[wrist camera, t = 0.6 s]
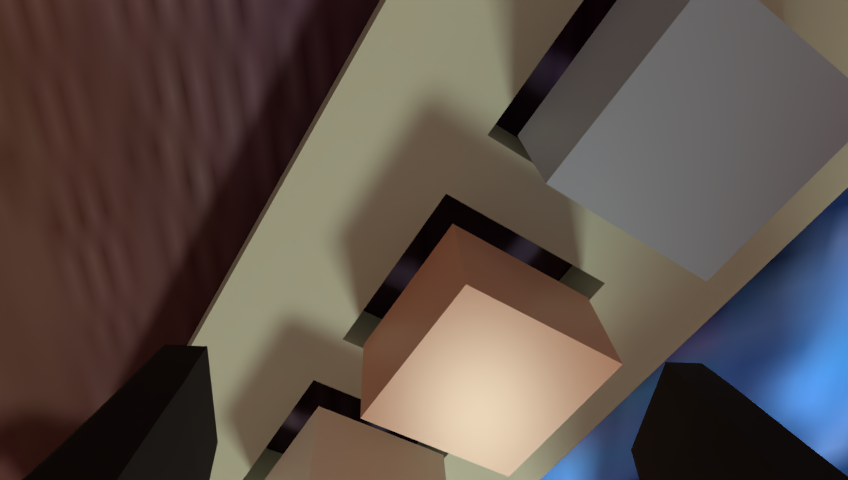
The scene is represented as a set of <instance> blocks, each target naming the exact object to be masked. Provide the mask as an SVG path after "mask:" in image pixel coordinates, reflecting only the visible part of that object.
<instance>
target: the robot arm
mask: <svg viewBox="0 0 848 480" xmlns="http://www.w3.org/2000/svg"><path fill="white" fill-rule="evenodd" d="M217 444H218V439H217V430H216V421H215V412H214V403H213V394H212V385H211V376H210V366H209V357H208V348H207V346H184V345H164V346H163V347H162V348H161V349H160V350H158V351H157V352H156V353H155V354H154V355H153V356H152V357H151V358H150V359H149V360H148V361H147V362H146V363H145V364H144V365H143V366H142V367H141V368H140V369H139V370H138V371H137V372H136V373H135V374H134V375H133V376H132V377H131V378H130V379H129V380H128V381H127V382H126V383H125V384H124V385H123V386H122V387H121V388H120V389H119V390H118V391H117V392H116V393H115V394H114V395H113V396H112V397H111V398H110V399H109V400H108V401H107V402H105V403H104V404H103V405H102V406H101V407H100V408H99V409H98V410H97V411H96V412H95V413H94V414H93V415H92V416H91V417H90V418H89V419H88V420H87V421H86V422H85V423H84V424H83V425H81V426H80V427H79V428H78V429H77V430H76V431H75V432H74V433H73V434H72V435H71V436H70V437H69V438H68V439H66V440H65V441H64V442H63V443H62V444H61V445H60V446H59V447H58V448H57V449H56V450H55V451H54V452H53V453H51V454H50V455H49V456H48V457H47V458H46V459H45V460H44V461H43V462H42V463H41V464H39V465H38V466H37V467H36V468H35V469H34V470H33V471H32V472H30V473H29V474H28V475H27V476H26V477H25V478H23V479H22V480H210V475H211V471H212V466H213V462H214V457H215V453H216V448H217ZM631 451H632V454H633V458H634V461H635V465H636V469H637V472H638V476H639V479H640V480H848V477H847V476H846V475H845V474H844V473H842V472H841V471H840V470H838V469H837V468H836V467H834V466H833V465H832V464H831V463H829V462H828V461H827V460H825V459H824V458H823V457H822V456H820V455H819V454H818V453H816V452H815V451H814V450H813V449H811V448H810V447H809V446H807V445H806V444H805V443H804V442H802V441H801V440H800V439H799V438H797V437H796V436H795V435H794V434H792V433H791V432H790V431H788V430H787V429H786V428H785V427H783V426H782V425H781V424H780V423H778V422H777V421H776V420H775V419H773V418H772V417H771V416H770V415H768V414H767V413H766V412H765V411H763V410H762V409H761V408H760V407H758V406H757V405H756V404H755V403H753V402H752V401H751V400H749V399H748V398H747V397H746V396H744V395H743V394H742V393H741V392H739V391H738V390H737V389H735V388H734V387H733V386H732V385H730V384H729V383H728V382H726V381H725V380H724V379H722V378H721V377H720V376H718V375H717V374H716V373H714V372H713V371H711V370H710V369H709V368H707V367H706V366H704V365H703V364H701V363H672V362H666V363H665V366H664V368H663V371H662V373H661V376H660V378H659V381H658V383H657V386H656V388H655V391H654V393H653V396H652V399H651V401H650V404H649V406H648V409H647V411H646V414H645V416H644V419H643V421H642V424H641V426H640V429H639V432H638V434H637V437H636V439H635V442H634V444H633V447H632V449H631Z"/></svg>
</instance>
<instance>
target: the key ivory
mask: <svg viewBox="0 0 848 480" xmlns="http://www.w3.org/2000/svg"><path fill="white" fill-rule="evenodd" d="M265 480H446V474H445V465H444V456H443V455H442V454H440V453H437V452H435V451H432V450H430V449H427V448H424V447H422V446H419V445H417V444H414V443H412V442H409V441H407V440H404V439H401V438H399V437H396V436H394V435H391V434H389V433H386V432H384V431H381V430H378V429H376V428H373V427H371V426H368V425H366V424H363V423H361V422H358V421H355V420H353V419H350V418H348V417H345V416H343V415H340V414H338V413H335V412H332V411H330V410H327V409H325V408H322V407H320V406H318V408H317V409H316V410H315V412H314V413H313V414H312V416H311V417H310V418H309V420H308V421H307V423H306V424H305V425H304V427H303V428H302V429H301V431H300V432H299V433H298V435H297V436H296V437H295V439H294V440H293V442H292V443H291V444H290V446H289V447H288V448H287V450H286V451H285V452H284V454H283V455H282V457H281V458H280V459H279V461H278V462H277V463H276V465H275V466H274V467H273V469H272V470H271V471H270V473H269V474H268V476H267V477H266V478H265Z"/></svg>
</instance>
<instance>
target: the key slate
mask: <svg viewBox="0 0 848 480" xmlns="http://www.w3.org/2000/svg"><path fill="white" fill-rule="evenodd" d="M518 138H519V139H520V141H521V143H522V144H523V146H524V148H525V149H526V151H527V153H528V154H529V156H530V158H531V160H532V161H533V163H534V165H535V166H536V168H537V170H538V171H539V173H540V175H541V176H542V178H543V180H544V182H545V183H546V184H547V185H549V186H551V187H552V188H554V189H555V190H557V191H559V192H560V193H562V194H564V195H565V196H567V197H569V198H570V199H572V200H573V201H575V202H577V203H578V204H580V205H582V206H583V207H585V208H587V209H588V210H590V211H592V212H593V213H595V214H596V215H598V216H600V217H601V218H603V219H605V220H606V221H608V222H610V223H611V224H613V225H615V226H616V227H618V228H619V229H621V230H623V231H624V232H626V233H628V234H629V235H631V236H633V237H634V238H636V239H638V240H639V241H641V242H642V243H644V244H646V245H647V246H649V247H651V248H652V249H654V250H656V251H657V252H659V253H660V254H662V255H664V256H665V257H667V258H669V259H670V260H672V261H674V262H675V263H677V264H679V265H680V266H682V267H683V268H685V269H687V270H688V271H690V272H692V273H693V274H695V275H697V276H698V277H700V278H702V279H703V280H705V281H706V282H707V281H708V280H709V279H710V278H711V277H712V276H713V275H714V274H715V273H716V272H717V271H718V270H719V269H720V268H721V267H722V266H723V265H724V264H725V263H726V262H727V261H728V260H729V259H730V258H731V257H732V256H733V255H734V254H735V253H736V252H737V251H738V250H739V249H740V248H741V247H742V246H743V245H744V244H745V243H746V242H747V241H748V240H749V239H750V238H751V237H752V236H753V235H754V234H755V233H756V232H757V231H758V230H759V229H760V228H761V227H762V226H763V225H765V224H766V223H767V222H768V221H769V220H770V219H771V218H772V217H773V216H774V215H775V214H776V213H777V212H778V211H779V210H780V209H781V208H782V207H783V206H784V205H785V204H786V203H787V202H788V201H789V200H790V199H791V198H792V197H793V196H794V195H795V194H796V193H797V192H798V191H799V190H800V189H801V188H802V187H803V186H804V185H805V184H806V183H807V182H808V181H809V180H810V179H811V178H812V177H813V176H814V175H815V174H816V173H817V172H818V171H819V170H820V169H821V168H822V167H823V166H824V165H825V164H826V163H827V162H828V161H829V160H830V159H831V158H832V157H833V156H834V155H835V154H836V153H837V152H838V151H839V150H840V149H841V148H843V147H844V146H845V145H846V144H847V143H848V78H847V77H846V76H845V75H844V74H843V73H842V72H840V71H839V70H838V69H837V68H836V67H835V66H834V65H832V64H831V63H830V62H829V61H828V60H827V59H825V58H824V57H823V56H822V55H821V54H820V53H819V52H817V51H816V50H815V49H814V48H813V47H812V46H810V45H809V44H808V43H807V42H806V41H805V40H804V39H802V38H801V37H800V36H799V35H798V34H797V33H795V32H794V31H793V30H792V29H791V28H790V27H789V26H787V25H786V24H785V23H784V22H783V21H782V20H780V19H779V18H778V17H777V16H776V15H775V14H773V13H772V12H771V11H770V10H769V9H768V8H767V7H765V6H764V5H763V4H762V3H761V2H760V1H758V0H617V1H616V2H615V4H614V5H613V6H612V8H611V9H610V10H609V12H608V13H607V14H606V16H605V17H604V19H603V20H602V21H601V23H600V24H599V25H598V27H597V28H596V29H595V31H594V32H593V34H592V35H591V36H590V38H589V39H588V40H587V42H586V43H585V44H584V46H583V47H582V48H581V50H580V51H579V53H578V54H577V55H576V57H575V58H574V59H573V61H572V62H571V63H570V65H569V66H568V68H567V69H566V70H565V72H564V73H563V74H562V76H561V77H560V78H559V80H558V81H557V82H556V84H555V85H554V87H553V88H552V89H551V91H550V92H549V93H548V95H547V96H546V97H545V99H544V100H543V102H542V103H541V104H540V106H539V107H538V108H537V110H536V111H535V112H534V114H533V115H532V116H531V118H530V119H529V121H528V122H527V123H526V125H525V126H524V127H523V129H522V130H521V131H520V133H519V134H518Z"/></svg>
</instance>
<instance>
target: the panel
mask: <svg viewBox="0 0 848 480" xmlns="http://www.w3.org/2000/svg"><path fill="white" fill-rule="evenodd" d="M758 1H760V2H761V3H762V4H763V5H764V6H765V7H767V8H768V9H769V10H770V11H771V12H772V13H773V14H775V15H776V16H777V17H778V18H779V19H780V20H782V21H783V22H784V23H785V24H786V25H787V26H789V27H790V28H791V29H792V30H793V31H794V32H795V33H797V34H798V35H799V36H800V37H801V38H802V39H804V40H805V41H806V42H807V43H808V44H809V45H810V46H812V47H813V48H814V49H815V50H816V51H817V52H819V53H820V54H821V55H822V56H823V57H824V58H825V59H827V60H828V61H829V62H830V63H831V64H832V65H834V66H835V67H836V68H837V69H838V70H839V71H840V72H842V73H843V74H844V75H845V76H846V77H847V78H848V0H758ZM582 2H583V0H380V1H379V3H378V4H377V6H376V8H375V10H374V12H373V13H372V15H371V17H370V19H369V21H368V22H367V24H366V26H365V28H364V29H363V31H362V33H361V35H360V37H359V38H358V40H357V42H356V44H355V46H354V47H353V49H352V51H351V53H350V54H349V56H348V58H347V60H346V62H345V63H344V65H343V67H342V69H341V71H340V72H339V74H338V76H337V78H336V79H335V81H334V83H333V85H332V87H331V88H330V90H329V92H328V94H327V96H326V97H325V99H324V101H323V103H322V105H321V106H320V108H319V110H318V112H317V113H316V115H315V117H314V119H313V121H312V122H311V124H310V126H309V128H308V130H307V131H306V133H305V135H304V137H303V138H302V140H301V142H300V144H299V146H298V147H297V149H296V151H295V153H294V155H293V156H292V158H291V160H290V162H289V164H288V165H287V167H286V169H285V171H284V172H283V174H282V176H281V178H280V180H279V181H278V183H277V185H276V187H275V189H274V190H273V192H272V194H271V196H270V197H269V199H268V201H267V203H266V205H265V206H264V208H263V210H262V212H261V214H260V215H259V217H258V219H257V221H256V223H255V224H254V226H253V228H252V230H251V231H250V233H249V235H248V237H247V239H246V240H245V242H244V244H243V246H242V248H241V249H240V251H239V253H238V255H237V256H236V258H235V260H234V262H233V264H232V265H231V267H230V269H229V271H228V273H227V274H226V276H225V278H224V280H223V281H222V283H221V285H220V287H219V289H218V290H217V292H216V294H215V296H214V298H213V299H212V301H211V303H210V305H209V307H208V308H207V310H206V312H205V314H204V315H203V317H202V319H201V321H200V323H199V324H198V326H197V328H196V330H195V332H194V333H193V335H192V337H191V339H190V340H189V342H188V344H187V346H207V348H208V357H209V366H210V376H211V385H212V394H213V403H214V412H215V421H216V430H217V439H218V444H217V448H216V453H215V457H214V462H213V466H212V471H211V475H210V480H265V478H266V477H267V476H268V474H269V473H270V471H271V470H272V469H273V467H274V466H275V465H276V463H277V462H278V461H279V459H280V458H281V457H282V455H283V454H282V453H279V452H276V451H274V450H271V449H268V448H266V446H267V445H268V444H269V442H270V441H271V439H272V438H273V437H274V435H275V434H276V432H277V431H278V430H279V428H280V427H281V425H282V424H283V422H284V421H285V420H286V418H287V417H288V415H289V414H290V413H291V411H292V410H293V408H294V407H295V406H296V404H297V403H298V401H299V400H300V399H301V397H302V396H303V394H304V393H305V392H306V390H307V389H308V387H309V386H310V384H311V383H312V382H313V380H315V381H317V382H319V383H322V384H324V385H327V386H329V387H332V388H334V389H337V390H339V391H342V392H344V393H347V394H349V395H351V396H354V397H356V398H359V399H361V390H362V367H363V345H364V344H365V342H366V341H367V340H368V338H369V337H370V335H371V334H372V333H373V331H374V330H375V329H376V327H377V326H378V325H379V323H380V322H381V321H382V319H380V318H378V317H376V316H374V315H372V314H370V313H367V312H365V311H363V310H364V308H365V307H366V306H367V304H368V303H369V301H370V300H371V299H372V297H373V296H374V294H375V293H376V292H377V290H378V289H379V287H380V286H381V285H382V283H383V282H384V280H385V279H386V277H387V276H388V275H389V273H390V272H391V270H392V269H393V268H394V266H395V265H396V263H397V262H398V261H399V259H400V258H401V256H402V255H403V254H404V252H405V251H406V249H407V248H408V247H409V245H410V244H411V242H412V241H413V239H414V238H415V237H416V235H417V234H418V232H419V231H420V230H421V228H422V227H423V225H424V224H425V223H426V221H427V220H428V218H429V217H430V216H431V214H432V213H433V211H434V210H435V208H436V207H437V206H438V204H439V203H440V201H441V200H442V199H443V197H444V196H445V194H448V195H449V196H451V197H453V198H455V199H456V200H458V201H460V202H462V203H464V204H465V205H467V206H469V207H471V208H472V209H474V210H476V211H478V212H480V213H481V214H483V215H485V216H487V217H488V218H490V219H492V220H494V221H495V222H497V223H499V224H501V225H503V226H504V227H506V228H508V229H510V230H511V231H513V232H515V233H517V234H519V235H520V236H522V237H524V238H526V239H527V240H529V241H531V242H533V243H535V244H536V245H538V246H540V247H542V248H543V249H545V250H547V251H549V252H551V253H552V254H554V255H556V256H558V257H559V258H561V259H563V260H565V261H567V262H568V263H570V264H572V265H573V266H572V267H571V268H570V269H569V270H568V271H567V272H566V274H565V275H564V276H563V277H562V278H561V279H560V280H559V282H560V283H562V284H564V285H566V286H568V287H570V288H571V289H573V290H575V291H577V292H579V293H581V294H582V295H584V296H586V297H588V299H589V301H590V303H591V305H592V307H593V308H594V310H595V312H596V314H597V316H598V318H599V320H600V322H601V324H602V326H603V327H604V329H605V331H606V333H607V335H608V337H609V339H610V341H611V343H612V345H613V346H614V348H615V350H616V352H617V354H618V356H619V358H620V360H621V362H622V364H623V365H622V366H621V367H620V368H619V369H618V370H617V371H616V372H615V373H614V374H613V375H612V376H611V377H610V378H609V379H607V380H606V381H605V382H604V383H603V384H602V385H601V386H600V387H599V388H598V389H597V390H596V391H595V392H594V393H593V394H592V395H591V396H590V397H589V398H588V399H587V400H586V401H585V402H584V403H583V404H582V405H581V406H580V407H579V408H578V409H577V410H576V411H575V412H574V413H573V414H572V415H571V416H570V417H569V418H568V419H567V420H566V421H565V422H564V423H563V424H562V425H561V426H560V427H559V428H558V429H557V430H556V431H555V432H554V433H553V434H552V435H551V436H550V437H549V438H548V439H547V440H546V441H545V442H544V443H543V444H542V445H541V446H540V447H539V448H538V449H537V450H536V451H535V452H534V453H533V454H532V455H531V456H529V457H528V458H527V459H526V460H525V461H524V462H523V463H522V464H521V465H520V466H519V467H518V468H517V469H516V470H515V471H514V472H513V473H512V474H511V475H510V476H509V477H508V476H505V475H503V474H500V473H498V472H495V471H493V470H490V469H487V468H485V467H482V466H480V465H477V464H475V463H472V462H470V461H467V460H465V459H462V458H460V457H457V456H455V455H452V454H449V453H447V452H444V451H442V450H439V449H437V448H434V447H432V446H429V445H427V444H424V443H422V442H418V443H417V445H419V446H422V447H424V448H427V449H430V450H432V451H435V452H437V453H440V454H442V455H443V456H444V465H445V474H446V480H540V479H541V478H542V477H543V476H544V475H545V474H547V473H548V472H549V471H550V470H551V469H552V468H553V467H554V466H555V465H556V464H557V463H558V462H559V461H560V460H561V459H562V458H563V457H564V456H565V455H567V454H568V453H569V452H570V451H571V450H572V449H573V448H574V447H575V446H576V445H577V444H578V443H579V442H580V441H581V440H582V439H583V438H584V437H585V436H587V435H588V434H589V433H590V432H591V431H592V430H593V429H594V428H595V427H596V426H597V425H598V424H599V423H600V422H601V421H602V420H603V419H604V418H605V417H607V416H608V415H609V414H610V413H611V412H612V411H613V410H614V409H615V408H616V407H617V406H618V405H619V404H620V403H621V402H622V401H623V400H624V399H625V398H626V397H628V396H629V395H630V394H631V393H632V392H633V391H634V390H635V389H636V388H637V387H638V386H639V385H640V384H641V383H642V382H643V381H644V380H645V379H646V378H648V377H649V376H650V375H651V374H652V373H653V372H654V371H655V370H656V369H657V368H658V367H659V366H660V365H661V364H662V363H663V362H664V361H665V360H666V359H668V358H669V357H670V356H671V355H672V354H673V353H674V352H675V351H676V350H677V349H678V348H679V347H680V346H681V345H682V344H683V343H684V342H685V341H686V340H688V339H689V338H690V337H691V336H692V335H693V334H694V333H695V332H696V331H697V330H698V329H699V328H700V327H701V326H702V325H703V324H704V323H705V322H706V321H708V320H709V319H710V318H711V317H712V316H713V315H714V314H715V313H716V312H717V311H718V310H719V309H720V308H721V307H722V306H723V305H724V304H725V303H726V302H727V301H729V300H730V299H731V298H732V297H733V296H734V295H735V294H736V293H737V292H738V291H739V290H740V289H741V288H742V287H743V286H744V285H745V284H746V283H747V282H749V281H750V280H751V279H752V278H753V277H754V276H755V275H756V274H757V273H758V272H759V271H760V270H761V269H762V268H763V267H764V266H765V265H766V264H767V263H769V262H770V261H771V260H772V259H773V258H774V257H775V256H776V255H777V254H778V253H779V252H780V251H781V250H782V249H783V248H784V247H785V246H786V245H787V244H789V243H790V242H791V241H792V240H793V239H794V238H795V237H796V236H797V235H798V234H799V233H800V232H801V231H802V230H803V229H804V228H805V227H806V226H807V225H808V224H810V223H811V222H812V221H813V220H814V219H815V218H816V217H817V216H818V215H819V214H820V213H821V212H822V211H823V210H824V209H825V208H826V207H827V206H828V205H830V204H831V203H832V202H833V201H834V200H835V199H836V198H837V197H838V196H839V195H840V194H841V193H842V192H843V191H844V190H845V189H846V188H847V187H848V143H847V144H846V145H845V146H844V147H843V148H841V149H840V150H839V151H838V152H837V153H836V154H835V155H834V156H833V157H832V158H831V159H830V160H829V161H828V162H827V163H826V164H825V165H824V166H823V167H822V168H821V169H820V170H819V171H818V172H817V173H816V174H815V175H814V176H813V177H812V178H811V179H810V180H809V181H808V182H807V183H806V184H805V185H804V186H803V187H802V188H801V189H800V190H799V191H798V192H797V193H796V194H795V195H794V196H793V197H792V198H791V199H790V200H789V201H788V202H787V203H786V204H785V205H784V206H783V207H782V208H781V209H780V210H779V211H778V212H777V213H776V214H775V215H774V216H773V217H772V218H771V219H770V220H769V221H768V222H767V223H766V224H765V225H763V226H762V227H761V228H760V229H759V230H758V231H757V232H756V233H755V234H754V235H753V236H752V237H751V238H750V239H749V240H748V241H747V242H746V243H745V244H744V245H743V246H742V247H741V248H740V249H739V250H738V251H737V252H736V253H735V254H734V255H733V256H732V257H731V258H730V259H729V260H728V261H727V262H726V263H725V264H724V265H723V266H722V267H721V268H720V269H719V270H718V271H717V272H716V273H715V274H714V275H713V276H712V277H711V278H710V279H709V280H708V281H707V282H706V281H705V280H703V279H702V278H700V277H698V276H697V275H695V274H693V273H692V272H690V271H688V270H687V269H685V268H683V267H682V266H680V265H679V264H677V263H675V262H674V261H672V260H670V259H669V258H667V257H665V256H664V255H662V254H660V253H659V252H657V251H656V250H654V249H652V248H651V247H649V246H647V245H646V244H644V243H642V242H641V241H639V240H638V239H636V238H634V237H633V236H631V235H629V234H628V233H626V232H624V231H623V230H621V229H619V228H618V227H616V226H615V225H613V224H611V223H610V222H608V221H606V220H605V219H603V218H601V217H600V216H598V215H596V214H595V213H593V212H592V211H590V210H588V209H587V208H585V207H583V206H582V205H580V204H578V203H577V202H575V201H573V200H572V199H570V198H569V197H567V196H565V195H564V194H562V193H560V192H559V191H557V190H555V189H554V188H552V187H551V186H549V185H547V184H546V183H545V182H544V180H543V178H542V176H541V175H540V173H539V171H538V170H537V168H536V166H535V165H534V163H533V161H532V160H531V158H530V156H529V154H528V153H527V151H526V149H525V148H524V146H523V144H522V143H521V141H520V139H519V138H517V137H515V136H514V135H512V134H511V133H509V132H507V131H506V130H504V129H503V128H501V127H500V126H498V125H496V123H497V121H498V120H499V118H500V117H501V116H502V114H503V113H504V111H505V110H506V109H507V107H508V106H509V104H510V103H511V102H512V100H513V99H514V97H515V96H516V94H517V93H518V92H519V90H520V89H521V87H522V86H523V85H524V83H525V82H526V80H527V79H528V78H529V76H530V75H531V73H532V72H533V71H534V69H535V68H536V66H537V65H538V63H539V62H540V61H541V59H542V58H543V56H544V55H545V54H546V52H547V51H548V49H549V48H550V47H551V45H552V44H553V42H554V41H555V40H556V38H557V37H558V35H559V34H560V33H561V31H562V30H563V28H564V27H565V25H566V24H567V23H568V21H569V20H570V18H571V17H572V16H573V14H574V13H575V11H576V10H577V9H578V7H579V6H580V4H581V3H582Z"/></svg>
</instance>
